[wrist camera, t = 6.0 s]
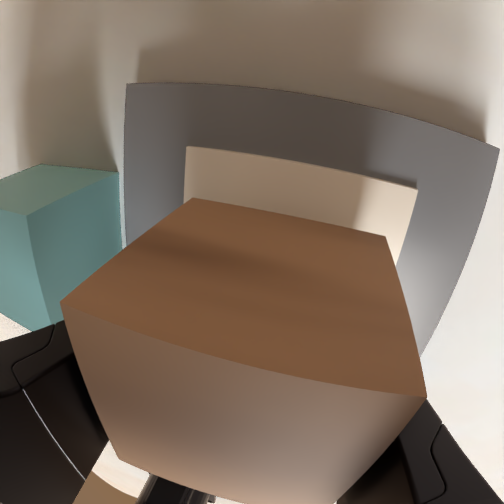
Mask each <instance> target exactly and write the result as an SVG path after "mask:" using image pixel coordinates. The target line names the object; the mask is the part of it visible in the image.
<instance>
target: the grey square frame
mask: <svg viewBox="0 0 504 504" xmlns="http://www.w3.org/2000/svg"><path fill="white" fill-rule="evenodd" d="M499 151H500V149H499V148H497V147H494V146H492V145H490V144H487V143H485V142H482V141H479V140H477V139H474V138H472V137H469V136H466V135H464V134H461V133H458V132H455V131H452V130H449V129H446V128H443V127H440V126H437V125H434V124H431V123H428V122H425V121H421V120H418V119H415V118H411V117H408V116H404V115H401V114H397V113H393V112H389V111H385V110H381V109H377V108H373V107H369V106H365V105H360V104H356V103H351V102H346V101H341V100H336V99H331V98H326V97H320V96H314V95H308V94H302V93H295V92H288V91H281V90H273V89H265V88H255V87H245V86H233V85H219V84H199V83H130V84H127V87H126V102H125V123H124V206H125V228H126V244H127V246H128V245H129V244H131V243H132V242H133V241H134V240H136V239H137V238H138V237H140V236H141V235H142V234H144V233H145V232H146V231H148V230H149V229H150V228H152V227H153V226H154V225H156V224H157V223H158V222H160V221H161V220H162V219H164V218H165V217H166V216H168V215H169V214H170V213H172V212H173V211H174V210H176V209H177V208H179V207H180V206H181V205H183V204H184V203H186V202H187V201H188V200H190V199H191V198H198V199H204V200H210V201H216V202H221V203H227V204H232V205H238V206H243V207H249V208H254V209H259V210H264V211H270V212H275V213H280V214H285V215H290V216H295V217H300V218H305V219H310V220H314V221H319V222H324V223H329V224H333V225H338V226H343V227H347V228H352V229H356V230H361V231H365V232H370V233H374V234H378V235H383V236H386V239H387V242H388V245H389V248H390V251H391V254H392V257H393V261H394V264H395V267H396V270H397V273H398V277H399V280H400V283H401V287H402V290H403V294H404V297H405V301H406V304H407V308H408V312H409V316H410V320H411V323H412V327H413V332H414V336H415V340H416V344H417V348H418V353H419V357H420V356H421V355H422V353H423V351H424V349H425V347H426V346H427V344H428V342H429V340H430V338H431V336H432V334H433V332H434V331H435V329H436V327H437V325H438V323H439V321H440V319H441V317H442V315H443V312H444V310H445V308H446V306H447V304H448V302H449V300H450V298H451V295H452V293H453V291H454V289H455V286H456V284H457V282H458V279H459V277H460V275H461V272H462V270H463V267H464V265H465V262H466V260H467V257H468V255H469V252H470V249H471V247H472V244H473V241H474V238H475V236H476V233H477V230H478V227H479V224H480V221H481V218H482V215H483V211H484V208H485V205H486V202H487V198H488V195H489V191H490V188H491V184H492V180H493V176H494V172H495V168H496V164H497V160H498V155H499Z"/></svg>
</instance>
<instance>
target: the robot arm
mask: <svg viewBox="0 0 504 504" xmlns="http://www.w3.org/2000/svg"><path fill="white" fill-rule="evenodd" d="M441 424H442V421H441V419H440V418H439V416H438V415H437V413H436V412H435V410H434V409H433V408H432V406H431V405H430V403H429V402H428V400H427V399H426V400H425V401H424V402H423V404H422V405H421V407H420V408H419V409H418V411H417V412H416V413H415V415H414V416H413V417H412V418H411V420H410V421H409V422H408V424H407V425H406V426H405V427H404V429H403V430H402V431H401V432H400V434H399V435H398V436H397V437H396V438H395V440H394V441H393V442H392V443H391V444H390V446H389V447H388V448H387V449H386V450H385V451H384V452H383V454H382V455H381V456H380V457H379V458H378V459H377V460H376V461H375V462H374V464H373V465H372V466H371V467H370V468H369V469H368V470H367V471H366V472H365V473H364V474H363V475H362V476H361V477H360V478H359V479H358V480H357V481H356V482H355V483H354V484H353V485H352V486H351V487H350V488H349V489H348V490H347V491H346V492H345V493H344V494H343V495H342V496H341V497H340V498H339V499H338V500H337V504H504V502H503V501H502V500H501V499H500V498H499V497H498V496H497V494H496V493H495V492H494V490H493V489H492V488H491V487H490V485H489V484H488V483H487V482H486V480H485V479H484V478H483V477H482V475H481V474H480V473H479V472H478V470H477V469H476V468H475V467H474V465H473V464H472V463H471V461H470V460H469V459H468V457H467V456H466V455H465V454H464V452H463V451H462V450H461V448H460V447H459V445H458V444H457V442H456V441H455V440H454V438H453V437H452V435H451V434H450V432H449V431H448V429H447V428H446V426H445V425H444V424H442V425H441ZM108 441H109V438H108V436H107V434H106V432H105V430H104V427H103V425H102V423H101V421H100V418H99V416H98V414H97V412H96V409H95V407H94V404H93V402H92V400H91V397H90V395H89V392H88V389H87V387H86V384H85V382H84V379H83V376H82V374H81V371H80V368H79V365H78V362H77V359H76V356H75V353H74V350H73V347H72V344H71V341H70V338H69V334H68V331H67V328H66V324H65V321H64V320H62V321H59V322H57V323H56V324H51V325H49V326H46V327H44V328H41V329H38V330H35V331H33V332H30V333H27V334H24V335H21V336H18V337H14V338H11V339H8V340H5V341H1V342H0V504H72V503H73V502H74V500H75V498H76V496H77V495H78V493H79V491H80V489H81V488H82V486H83V484H84V482H85V480H86V479H87V477H88V475H89V473H90V472H91V470H92V468H93V466H94V465H95V463H96V461H97V460H98V458H99V456H100V454H101V453H102V451H103V449H104V448H105V446H106V444H107V443H108ZM149 474H150V476H149V478H148V480H147V482H146V484H145V486H144V487H143V489H142V491H141V493H140V495H139V497H138V499H137V501H136V503H135V504H207V502H209V503H215V500H216V496H215V495H211V494H208V493H205V492H201V491H198V490H195V489H192V488H189V487H186V486H183V485H180V484H178V483H175V482H172V481H169V480H167V479H164V478H162V477H159V476H157V475H154V474H152V473H149Z"/></svg>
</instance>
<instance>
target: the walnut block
mask: <svg viewBox="0 0 504 504" xmlns="http://www.w3.org/2000/svg"><path fill="white" fill-rule="evenodd" d="M60 306H61V310H62V314H63V317H64V321H65V324H66V328H67V331H68V334H69V338H70V341H71V344H72V347H73V350H74V353H75V356H76V359H77V362H78V365H79V368H80V371H81V374H82V376H83V379H84V382H85V384H86V387H87V389H88V392H89V395H90V397H91V400H92V402H93V404H94V407H95V409H96V412H97V414H98V416H99V418H100V421H101V423H102V425H103V427H104V430H105V432H106V434H107V436H108V438H109V440H110V442H111V444H112V446H113V448H114V450H115V452H116V454H117V456H118V458H119V459H120V460H122V461H124V462H126V463H128V464H131V465H133V466H135V467H137V468H140V469H142V470H144V471H147V472H149V473H152V474H154V475H157V476H159V477H162V478H164V479H167V480H169V481H172V482H175V483H178V484H180V485H183V486H186V487H189V488H192V489H195V490H198V491H201V492H205V493H208V494H211V495H215V496H218V497H221V498H225V499H229V500H233V501H236V502H240V503H244V504H333V503H334V502H336V501H337V500H338V499H339V498H340V497H341V496H342V495H343V494H344V493H345V492H346V491H347V490H348V489H349V488H350V487H351V486H352V485H353V484H354V483H355V482H356V481H357V480H358V479H359V478H360V477H361V476H362V475H363V474H364V473H365V472H366V471H367V470H368V469H369V468H370V467H371V466H372V465H373V464H374V462H375V461H376V460H377V459H378V458H379V457H380V456H381V455H382V454H383V452H384V451H385V450H386V449H387V448H388V447H389V446H390V444H391V443H392V442H393V441H394V440H395V438H396V437H397V436H398V435H399V434H400V432H401V431H402V430H403V429H404V427H405V426H406V425H407V424H408V422H409V421H410V420H411V418H412V417H413V416H414V415H415V413H416V412H417V411H418V409H419V408H420V407H421V405H422V404H423V402H424V401H425V400H426V398H427V393H426V387H425V382H424V377H423V372H422V367H421V362H420V357H419V353H418V348H417V344H416V340H415V336H414V332H413V327H412V323H411V320H410V316H409V312H408V308H407V304H406V301H405V297H404V294H403V290H402V287H401V283H400V280H399V277H398V273H397V270H396V267H395V264H394V261H393V257H392V254H391V251H390V248H389V245H388V242H387V239H386V236H383V235H378V234H374V233H370V232H365V231H361V230H356V229H352V228H347V227H343V226H338V225H333V224H329V223H324V222H319V221H314V220H310V219H305V218H300V217H295V216H290V215H285V214H280V213H275V212H270V211H264V210H259V209H254V208H249V207H243V206H238V205H232V204H227V203H221V202H216V201H210V200H204V199H198V198H191V199H190V200H188V201H187V202H186V203H184V204H183V205H181V206H180V207H179V208H177V209H176V210H174V211H173V212H172V213H170V214H169V215H168V216H166V217H165V218H164V219H162V220H161V221H160V222H158V223H157V224H156V225H154V226H153V227H152V228H150V229H149V230H148V231H146V232H145V233H144V234H142V235H141V236H140V237H138V238H137V239H136V240H134V241H133V242H132V243H131V244H129V245H128V246H127V247H125V248H124V249H123V250H122V251H120V252H119V253H118V254H117V255H115V256H114V257H113V258H112V259H110V260H109V261H108V262H107V263H105V264H104V265H103V266H102V267H100V268H99V269H98V270H97V271H95V272H94V273H93V274H92V275H91V276H89V277H88V278H87V279H86V280H85V281H83V282H82V283H81V284H80V285H79V286H77V287H76V288H75V289H74V290H73V291H72V292H70V293H69V294H68V295H67V296H66V297H65V298H63V299H62V300H61V301H60Z"/></svg>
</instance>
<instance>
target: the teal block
mask: <svg viewBox="0 0 504 504" xmlns="http://www.w3.org/2000/svg"><path fill="white" fill-rule="evenodd" d="M120 251H122V241H121V225H120V203H119V172H111V171H103V170H94V169H85V168H75V167H65V166H55V165H44V164H40V165H37V166H34V167H31V168H29V169H26V170H23V171H21V172H18V173H16V174H13V175H10V176H8V177H6V178H3V179H1V180H0V313H2V314H3V315H5V316H7V317H8V318H10V319H11V320H13V321H15V322H17V323H18V324H20V325H22V326H23V327H25V328H27V329H29V330H30V331H32V332H33V331H35V330H38V329H41V328H44V327H46V326H49V325H51V324H56V323H57V322H59V321H62V320H64V317H63V314H62V310H61V306H60V301H61V300H62V299H63V298H65V297H66V296H67V295H68V294H69V293H70V292H72V291H73V290H74V289H75V288H76V287H77V286H79V285H80V284H81V283H82V282H83V281H85V280H86V279H87V278H88V277H89V276H91V275H92V274H93V273H94V272H95V271H97V270H98V269H99V268H100V267H102V266H103V265H104V264H105V263H107V262H108V261H109V260H110V259H112V258H113V257H114V256H115V255H117V254H118V253H119V252H120Z"/></svg>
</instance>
